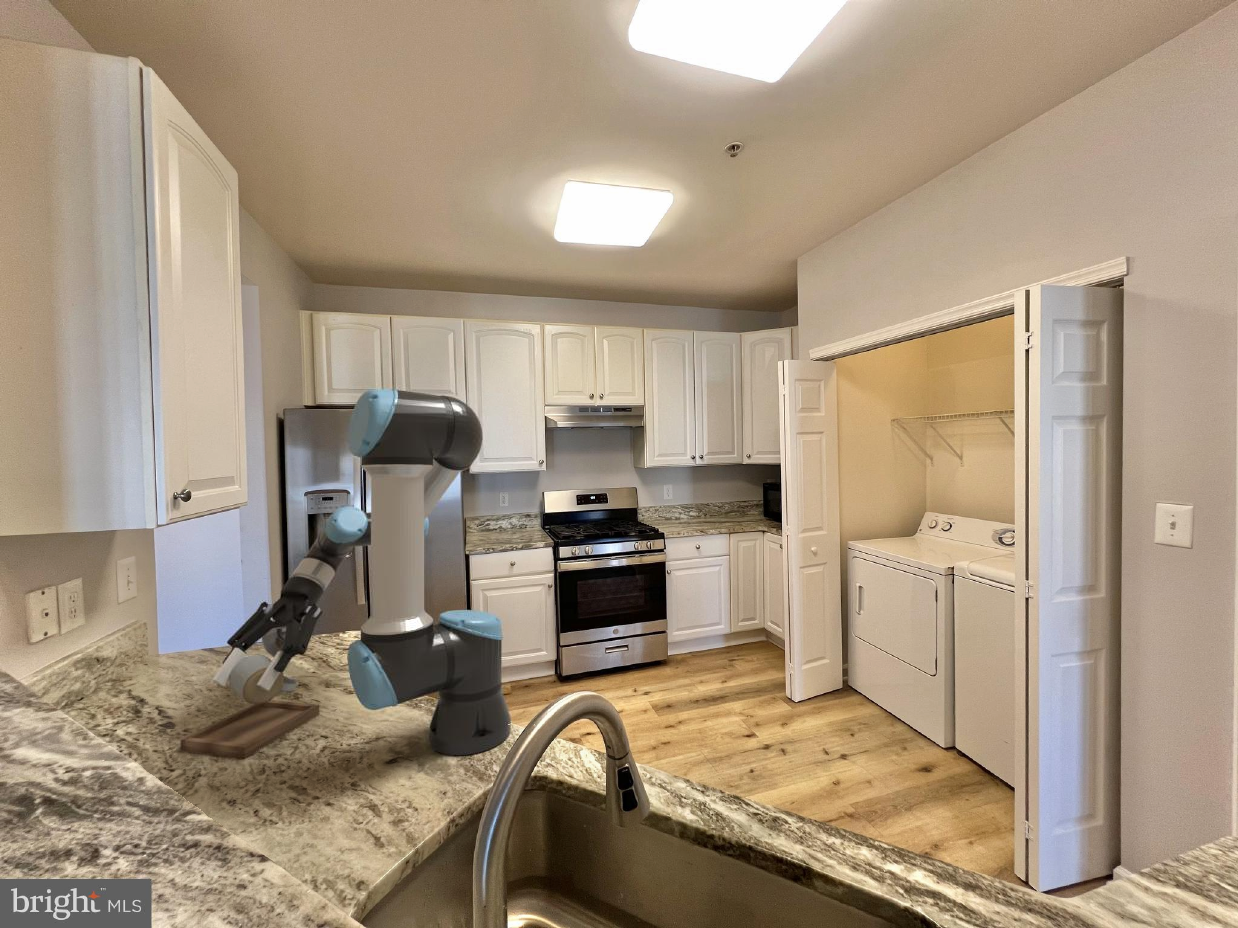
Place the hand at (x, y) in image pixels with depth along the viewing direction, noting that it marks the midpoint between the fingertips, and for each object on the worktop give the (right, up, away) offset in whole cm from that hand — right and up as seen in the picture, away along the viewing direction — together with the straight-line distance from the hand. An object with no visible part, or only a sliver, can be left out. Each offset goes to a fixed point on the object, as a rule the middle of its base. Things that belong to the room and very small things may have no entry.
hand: (240, 685), depth 97 cm
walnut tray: (+1, -10, +2) cm, 10 cm away
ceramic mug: (+2, -4, +5) cm, 7 cm away
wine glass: (-8, -11, +24) cm, 27 cm away
